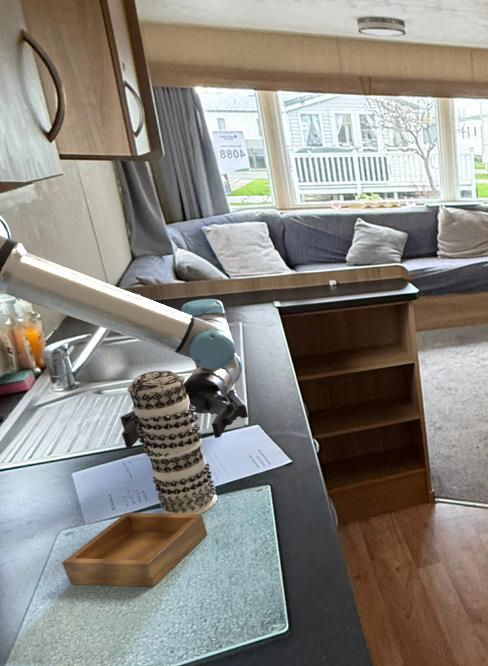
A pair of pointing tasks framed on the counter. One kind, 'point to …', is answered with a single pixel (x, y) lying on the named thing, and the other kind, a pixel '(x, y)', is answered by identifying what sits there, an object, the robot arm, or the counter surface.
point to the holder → (136, 550)
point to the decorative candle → (172, 443)
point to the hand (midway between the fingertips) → (171, 435)
